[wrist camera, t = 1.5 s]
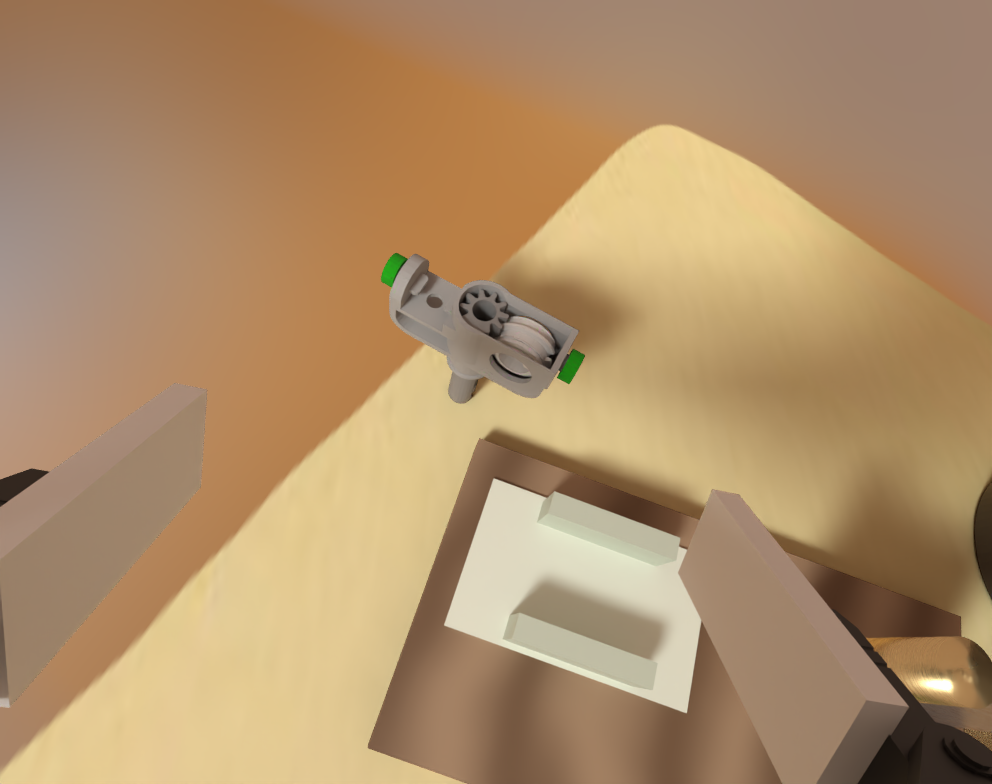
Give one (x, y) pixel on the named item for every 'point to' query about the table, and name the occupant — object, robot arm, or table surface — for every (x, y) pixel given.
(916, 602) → the board
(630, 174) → the table surface
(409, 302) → the mechanical component
